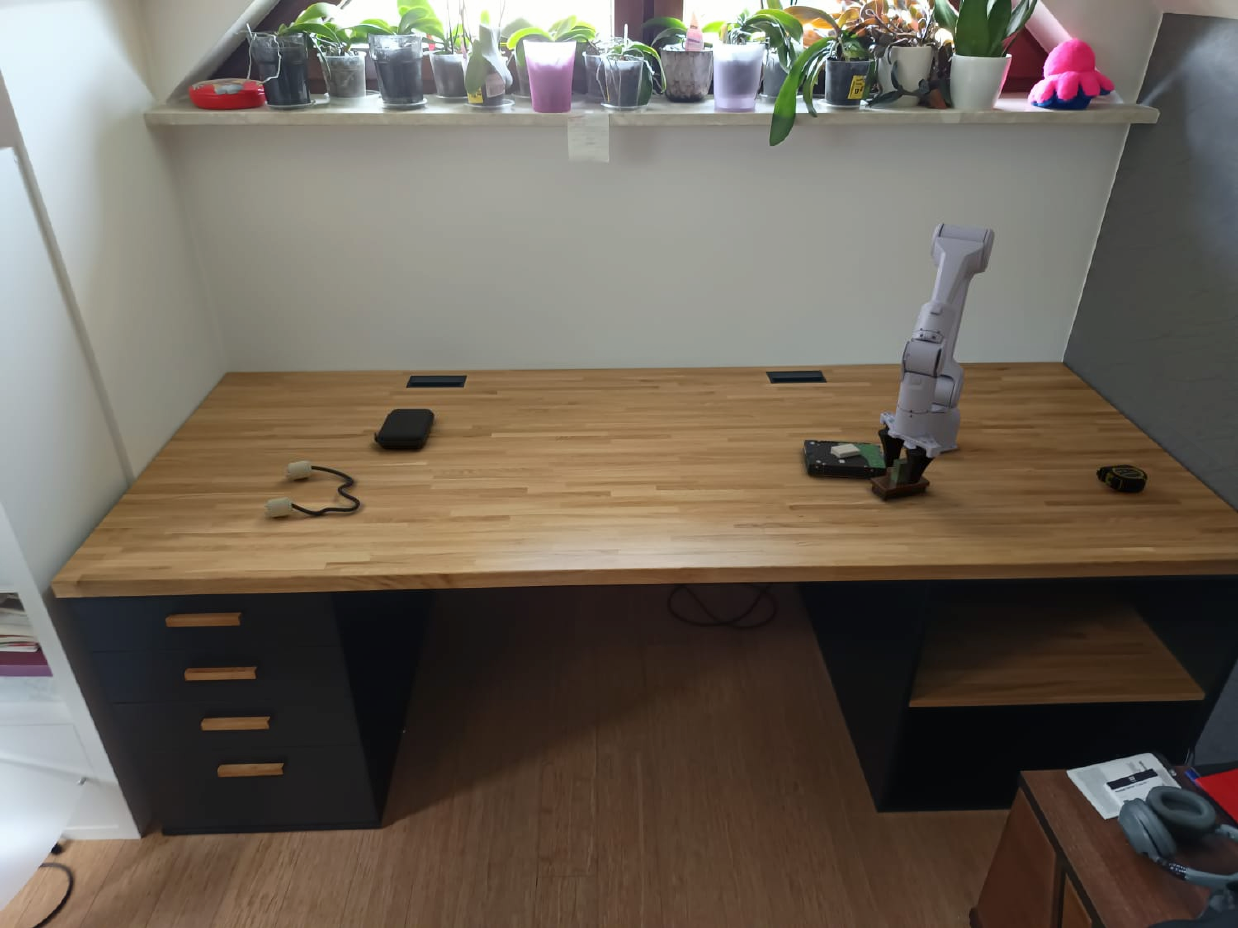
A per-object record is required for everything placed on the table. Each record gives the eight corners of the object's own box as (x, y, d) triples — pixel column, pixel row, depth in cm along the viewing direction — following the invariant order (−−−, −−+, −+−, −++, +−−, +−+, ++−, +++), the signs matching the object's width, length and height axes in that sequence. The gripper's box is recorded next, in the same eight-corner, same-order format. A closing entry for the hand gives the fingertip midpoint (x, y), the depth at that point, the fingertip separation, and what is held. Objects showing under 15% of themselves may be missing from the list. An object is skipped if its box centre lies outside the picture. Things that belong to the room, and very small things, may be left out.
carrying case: (386, 418, 185) (370, 451, 172) (384, 405, 183) (368, 437, 170) (436, 418, 185) (424, 451, 172) (435, 405, 183) (423, 437, 171)
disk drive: (806, 477, 165) (887, 480, 163) (808, 464, 163) (889, 467, 162) (802, 451, 174) (878, 454, 172) (803, 439, 172) (880, 441, 171)
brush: (912, 481, 163) (918, 450, 160) (927, 493, 159) (934, 462, 156) (868, 490, 160) (873, 459, 157) (883, 502, 156) (889, 470, 153)
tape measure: (1125, 477, 165) (1131, 460, 163) (1151, 496, 159) (1157, 478, 157) (1093, 480, 164) (1098, 463, 162) (1117, 499, 158) (1123, 481, 156)
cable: (372, 471, 165) (370, 455, 163) (357, 517, 151) (354, 500, 149) (288, 473, 164) (284, 457, 162) (264, 521, 149) (260, 503, 148)
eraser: (850, 447, 169) (851, 443, 168) (859, 454, 167) (860, 450, 166) (830, 451, 168) (831, 446, 167) (839, 458, 165) (839, 453, 165)
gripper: (870, 393, 156) (859, 460, 163) (921, 427, 144) (907, 497, 151) (903, 388, 158) (891, 454, 165) (956, 421, 146) (941, 490, 153)
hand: (901, 474), depth 158 cm, fingers open, 6 cm apart
